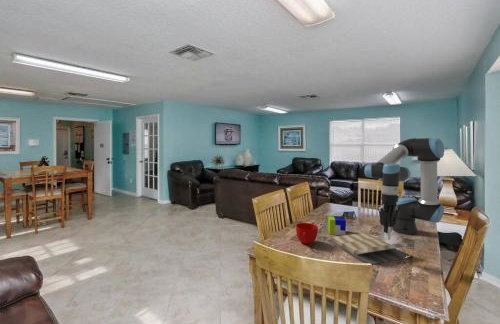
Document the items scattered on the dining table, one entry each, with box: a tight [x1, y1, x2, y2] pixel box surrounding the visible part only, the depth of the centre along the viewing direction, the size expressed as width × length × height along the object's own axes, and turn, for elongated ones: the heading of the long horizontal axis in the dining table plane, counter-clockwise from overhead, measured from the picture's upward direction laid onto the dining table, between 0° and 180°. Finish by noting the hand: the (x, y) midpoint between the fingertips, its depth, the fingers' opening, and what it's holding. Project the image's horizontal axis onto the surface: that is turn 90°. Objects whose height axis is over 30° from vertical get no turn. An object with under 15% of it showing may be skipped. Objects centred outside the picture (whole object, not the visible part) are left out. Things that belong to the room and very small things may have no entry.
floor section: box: [327, 232, 414, 265], centre depth 146 cm, size 30×33×2 cm
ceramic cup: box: [295, 222, 319, 245], centre depth 152 cm, size 13×17×10 cm
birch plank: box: [355, 242, 408, 254], centre depth 136 cm, size 26×10×2 cm, turn 108°
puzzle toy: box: [327, 215, 347, 236], centre depth 172 cm, size 10×10×10 cm
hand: (387, 238), depth 132 cm, fingers closed
